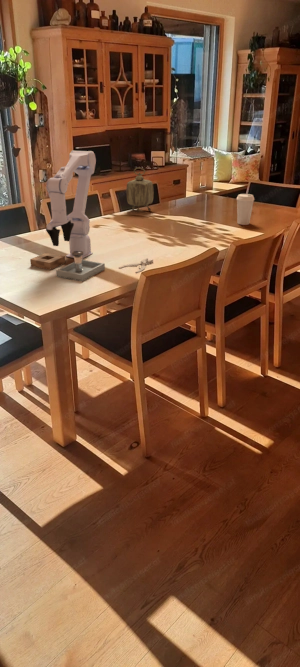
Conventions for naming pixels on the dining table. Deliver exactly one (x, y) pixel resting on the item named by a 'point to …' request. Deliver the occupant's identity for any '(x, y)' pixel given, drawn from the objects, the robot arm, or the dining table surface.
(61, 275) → the tray
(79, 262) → the pin
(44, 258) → the brown square frame
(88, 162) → the robot arm
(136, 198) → the tabletop clock
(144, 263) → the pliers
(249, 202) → the coffee cup
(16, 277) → the dining table surface
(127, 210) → the dining table surface
